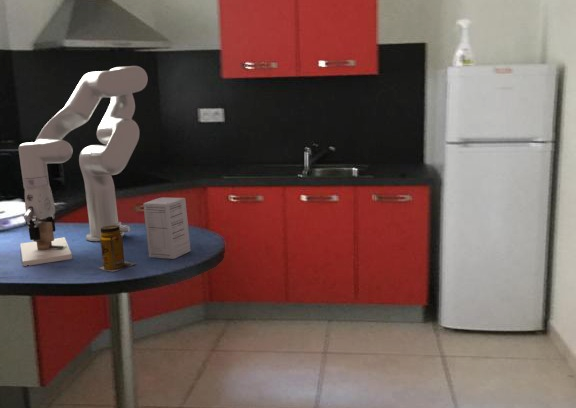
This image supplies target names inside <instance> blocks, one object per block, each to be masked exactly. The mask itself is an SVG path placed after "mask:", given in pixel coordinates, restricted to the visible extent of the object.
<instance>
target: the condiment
mask: <svg viewBox="0 0 576 408" xmlns="http://www.w3.org/2000/svg"><path fill="white" fill-rule="evenodd" d="M119 229H120V228H119V226H115V225H112V226H105V227H102V228H101V238H100V241H99V242H100V248H101V257H102V263H103V265H102V266H100V267H98V269H99V270H103V271H106V272H112V273H113V272H116V271H117V272H118V271H120V270H121V271H122V270H124V269H125V268H127V267H128V268H129V267H133V265H135V263H133V262H130V261H125V254H124V253H125V252H124V243H123V236H121V235H120V230H119Z"/></svg>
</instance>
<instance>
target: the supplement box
mask: <svg viewBox="0 0 576 408" xmlns="http://www.w3.org/2000/svg"><path fill="white" fill-rule="evenodd" d="M142 204H143V212H144V221H145V231H146V241H147V250H148V257H149V258H154V259H155V258H157V259H168V260H169V259H170V260H175V259H177V258H180V257H181V256H183V255H185V254H187V253H189V252H191V242H190V241H191V240H190V232H189V231H190V229H189V221H188V213H187V202H186V198H185V197H163V196H162V197H159V198H155V199H151V200H150V201H149V200H148V201H146V202H144V203H142Z"/></svg>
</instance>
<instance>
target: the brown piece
mask: <svg viewBox="0 0 576 408" xmlns="http://www.w3.org/2000/svg"><path fill="white" fill-rule="evenodd" d="M33 222H34V223H35V221H33ZM37 227H39V230H40V238H41V239H39V240H32V242H37V249H39V250H44V249H49V248H57V249H62V248H64V247H63V246H52V242H51V241H54V239H55V236H54V232H53V227H52V222H44V221H39V222H38V226H37Z"/></svg>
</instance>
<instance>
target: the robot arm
mask: <svg viewBox="0 0 576 408" xmlns="http://www.w3.org/2000/svg"><path fill="white" fill-rule="evenodd" d="M147 85H148V74H147V72H146V70H145V69H144V68H142V67H141V66H138V65H130V66H129V65H128V66H127V65H126V66H116V67H113V68H110V69H109V70H102V71H101V70H100V71H99V70H98V71H96V70H95V71H90V72H87V73H85V74H83V76H82V77H81V79H80V80H79V82H78V84H77V85H76V86H75V89H74V90H73V92H72V94H71V95H70V97H69V99H68V100H67V102H66V103H65V105H64V107H63V108H62V109H60V110H59V111H58V112H57V113H56V114H55V115H54V116H52V117H51V119H49V121H47V123H46V124H44V126H43V128H41V131H40V132H39V134H38V135H37V137H36V139H35V141H34V142H33V141H31V142H23V143H21V144H19V146H18V155H19V163H20V170H21V177H22V183H23V184H22V186H23V189H24V207H25V208H24V209H25V214H24V215H23V219H24V221H25V224H26V226H27V228H28V234H29V239H30V241H33V240H39V239H41V238H40V230H39V227H37V226H38V222H40V221H42V220H43V222H52V227H53V233H54V232H56V226H55V225H56V224H55V214H56V205H55V199H54V194H53V193H52V192H53V191H52V189H51V188H52V187H51V186H50V181H49V172H48V164H63V163H66V162H67V161H69V160H70V159H71V158H72V155H73V152H74V151H73V146H72V145H71V144H70V143H69V142H68V141H67V140H64V138H65V137H66V136H67V135H68V134H69V133H70V132H71V131H74V130H75V129H77V128H79V127H81V126H83V125H85V124H86V123H88V121H89V120H90V119H91V117H92V115H93V113H94V112H95V110H96V109H97V106H98V105H99V104H100V101H101V100H102V99H103V98H110V103H109V105H108V106H107V109H106V112H105V113H104V115H103V117H102V119H101V121H100V123H99V125H98V126H97V130H96V138H97V140H98V142H100V143H101V144H90V145H88V146H86V147H84V148H82V150H81V151H80V153H79V155H78V157H79V158H78V162H79V164H78V165H79V168H80V171H81V174H82V178H83V182H84V190H85V199H86V207H87V215H88V223H89V233H87V234H86V236H85V237H86V240H87V241H90V242H101V241H100V238H101V228H102V227H105V226H112V225H115V226H119V228H120V229H119V230H120V235H121V236H122V237H124V236H125V233H130V232H131V227H130V226H129V225H122V221H119V217H118V209H117V197H116V191H115V190H116V189H115V188H116V187H115V183H114V179H113V177H112V176H115V175H118V174H120V173H122V171H123V170H124V169H125V168H126V166H127V165H128V163H129V160H130V158H131V156H132V155H133V152H134V150H135V148H136V146H137V144H138V142H139V139H140V128H139V125H138V123H137V122H136V121H135V120H134V119H133V116H134V114H135V110H136V103H135V98H134V95H133V94H135V93H138V92H141V91H143V90H144V89H145V88H146V86H147ZM34 222H35V223H34Z"/></svg>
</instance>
